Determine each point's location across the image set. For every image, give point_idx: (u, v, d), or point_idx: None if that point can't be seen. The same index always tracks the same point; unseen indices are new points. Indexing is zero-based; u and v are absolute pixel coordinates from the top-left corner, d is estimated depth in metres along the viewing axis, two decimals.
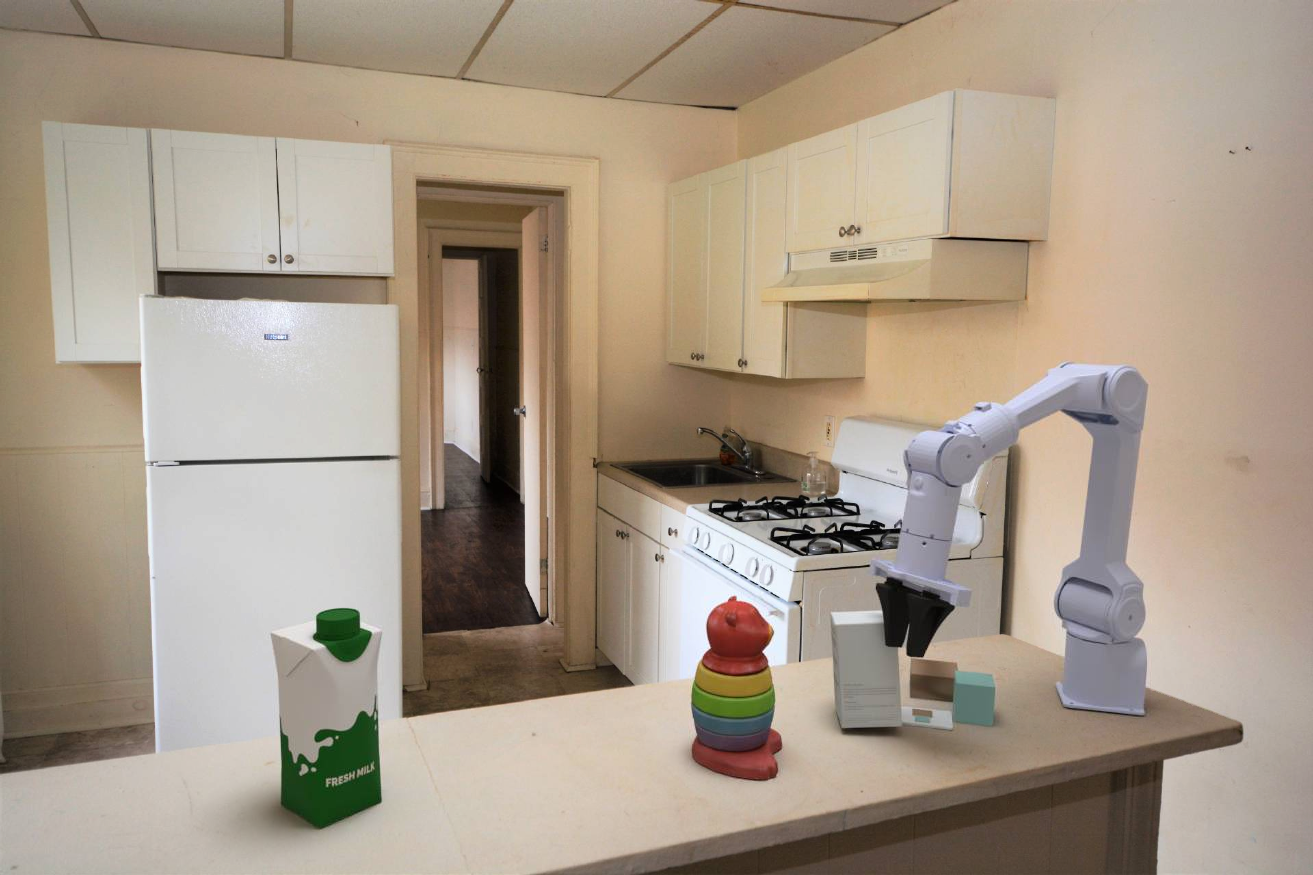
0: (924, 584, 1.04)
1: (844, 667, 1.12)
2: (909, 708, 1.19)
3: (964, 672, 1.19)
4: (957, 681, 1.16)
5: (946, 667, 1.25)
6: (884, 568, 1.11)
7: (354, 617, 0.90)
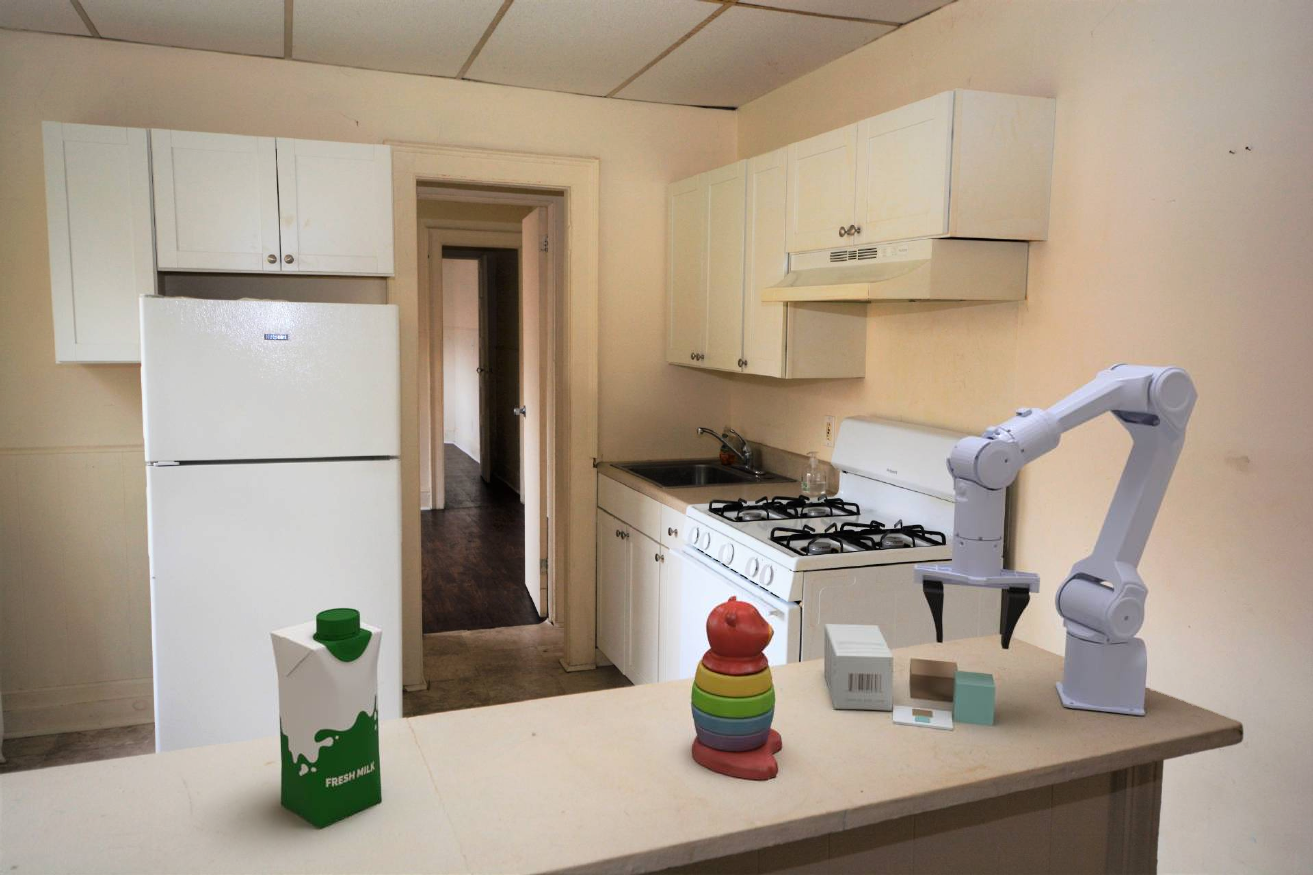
0: (1005, 582, 1.13)
1: (835, 635, 1.25)
2: (909, 708, 1.19)
3: (964, 672, 1.19)
4: (957, 681, 1.16)
5: (946, 667, 1.26)
6: (944, 576, 1.15)
7: (354, 617, 0.90)
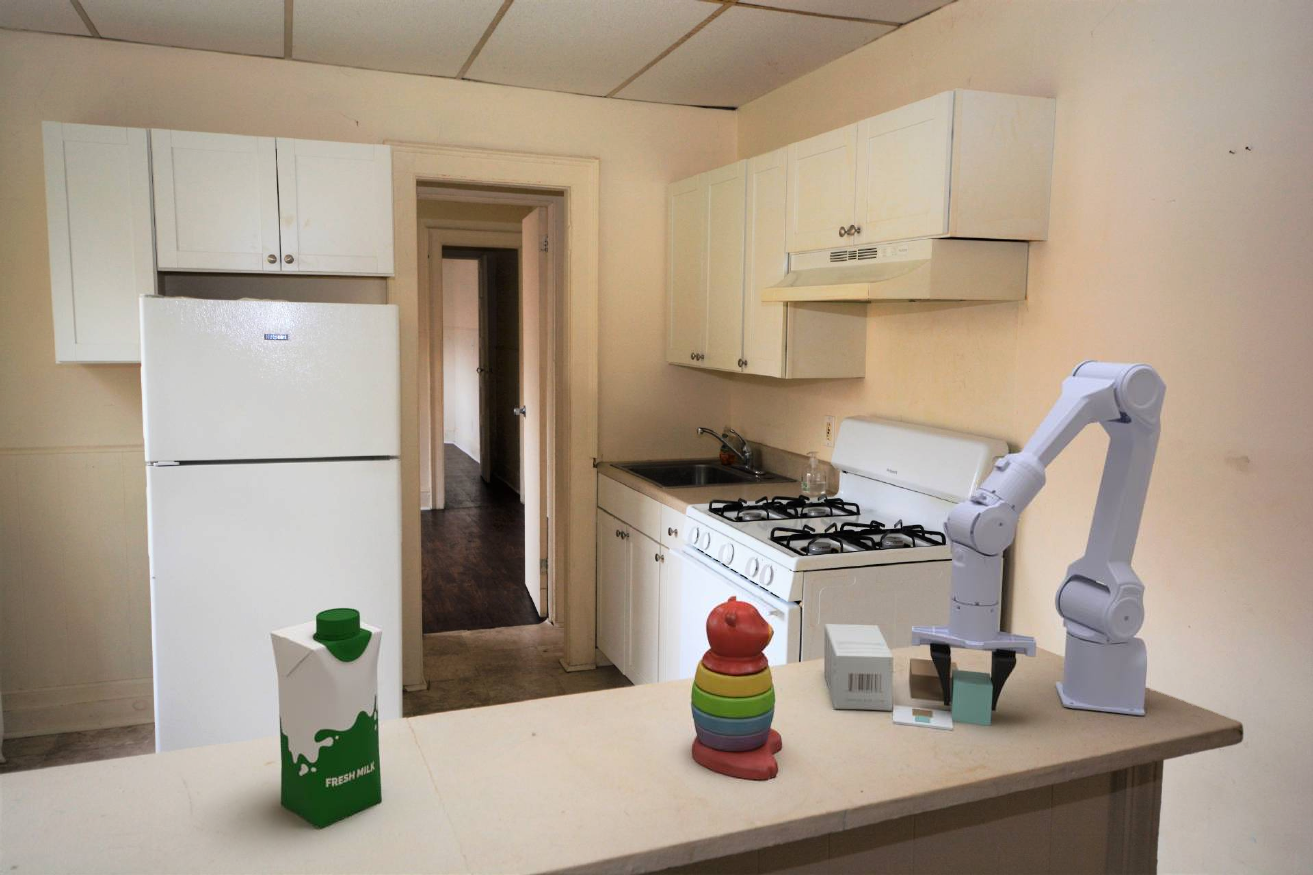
0: (1001, 646, 1.14)
1: (835, 635, 1.25)
2: (909, 708, 1.19)
3: (962, 671, 1.19)
4: (954, 680, 1.16)
5: None
6: (941, 639, 1.16)
7: (354, 617, 0.90)
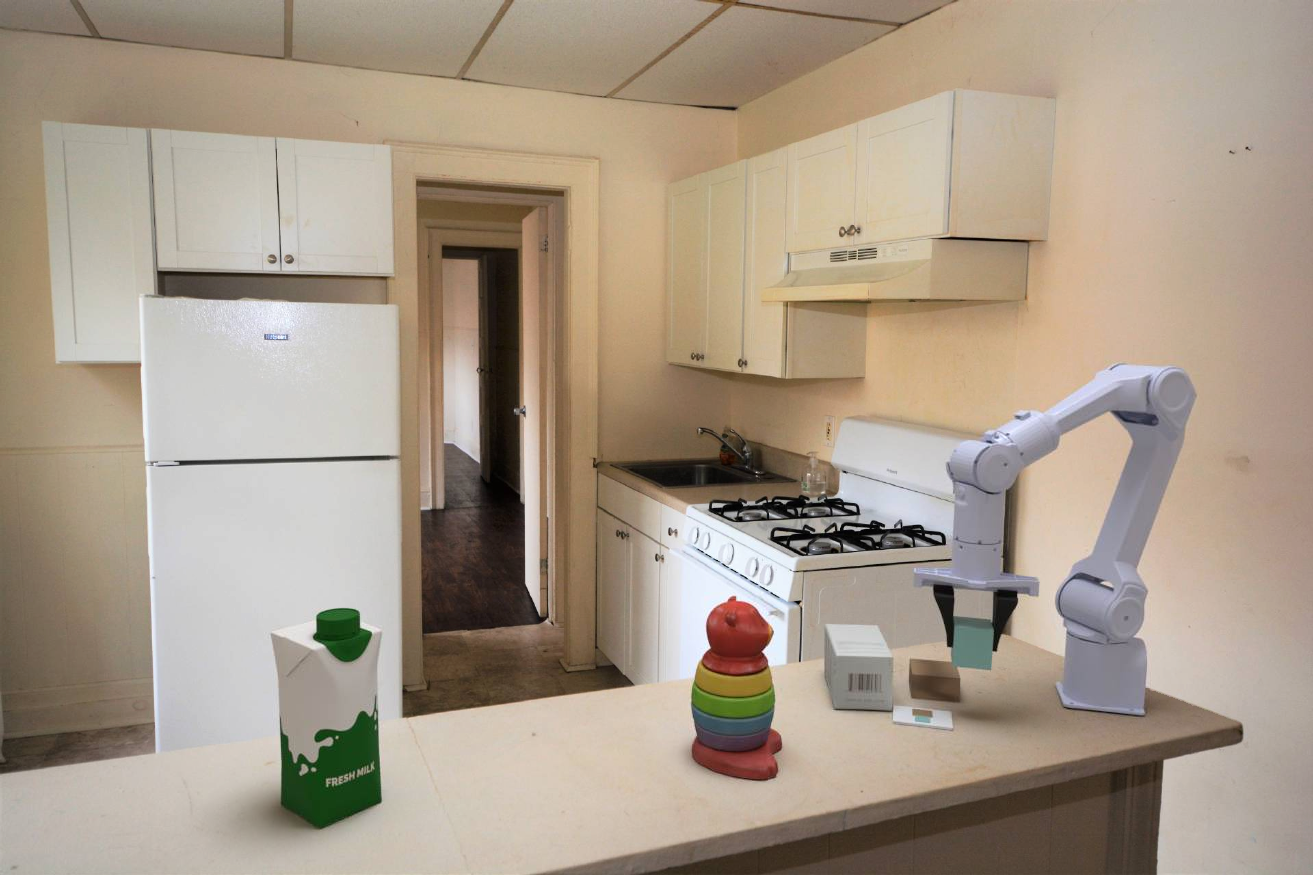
0: (1004, 586, 1.13)
1: (835, 635, 1.25)
2: (909, 708, 1.19)
3: (962, 617, 1.18)
4: (955, 625, 1.15)
5: (945, 667, 1.26)
6: (944, 580, 1.15)
7: (354, 617, 0.90)
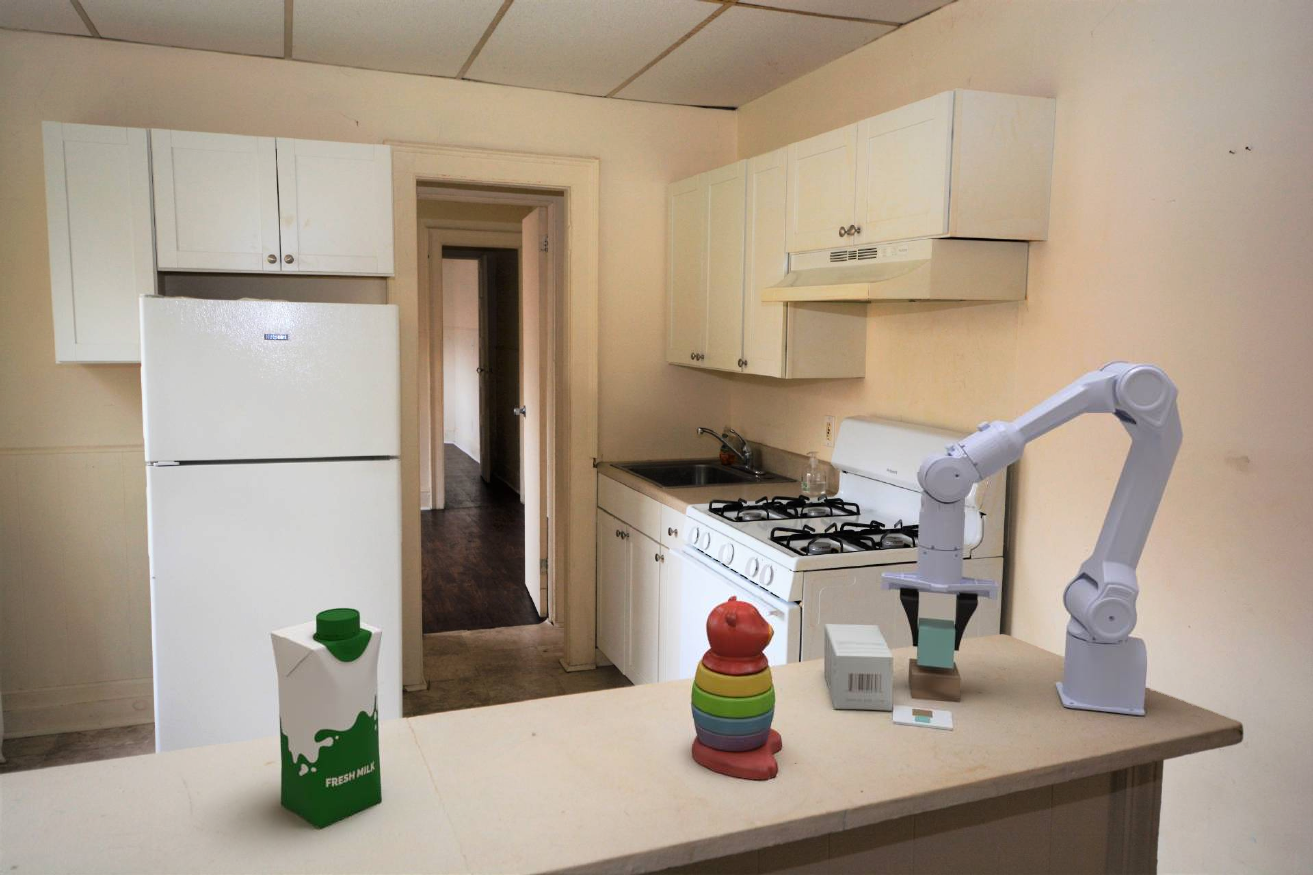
0: (965, 589, 1.21)
1: (835, 635, 1.25)
2: (909, 708, 1.19)
3: (927, 619, 1.26)
4: (920, 626, 1.23)
5: None
6: (909, 583, 1.23)
7: (354, 617, 0.90)
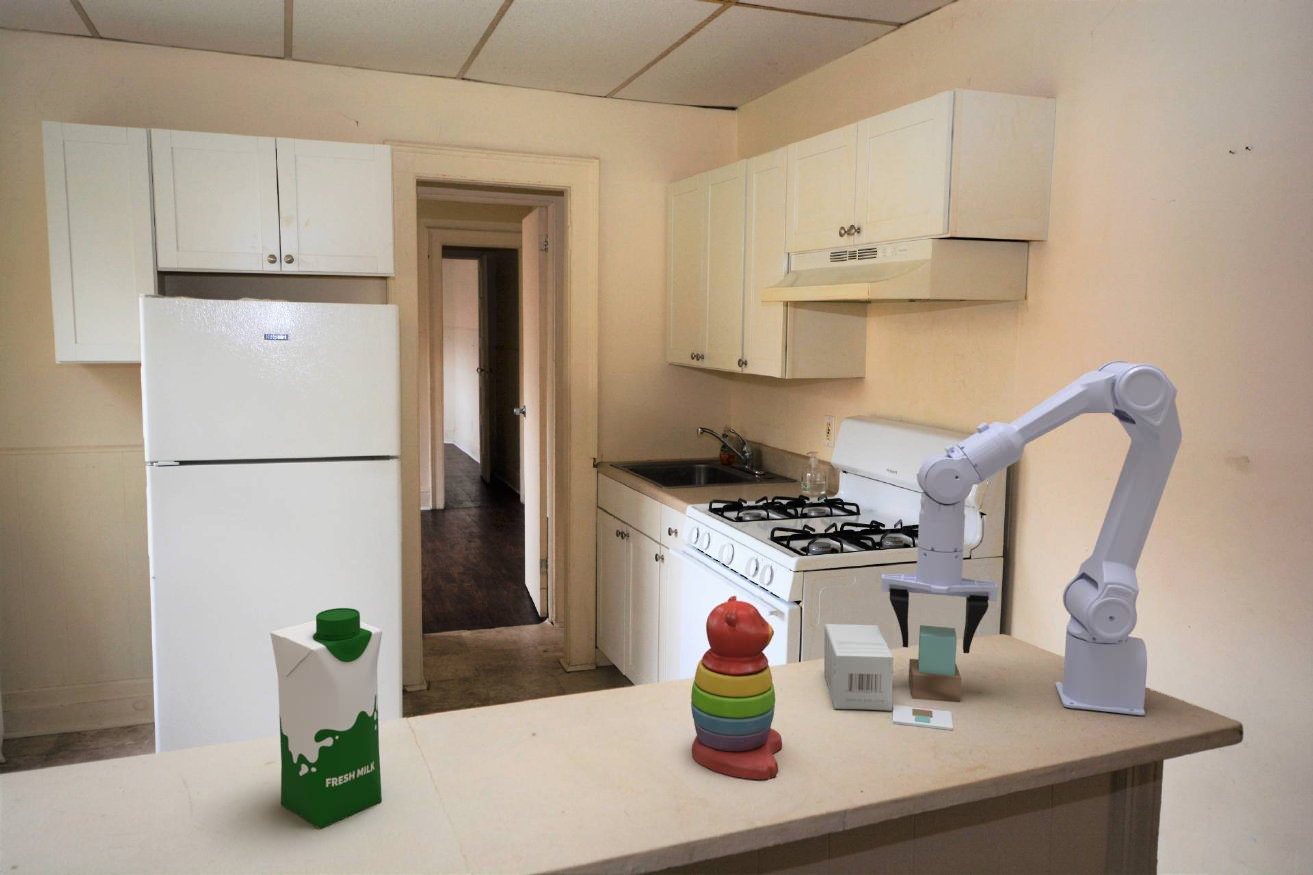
0: (965, 591, 1.21)
1: (835, 635, 1.25)
2: (909, 708, 1.19)
3: (928, 626, 1.27)
4: (921, 634, 1.24)
5: None
6: (909, 585, 1.23)
7: (354, 617, 0.90)
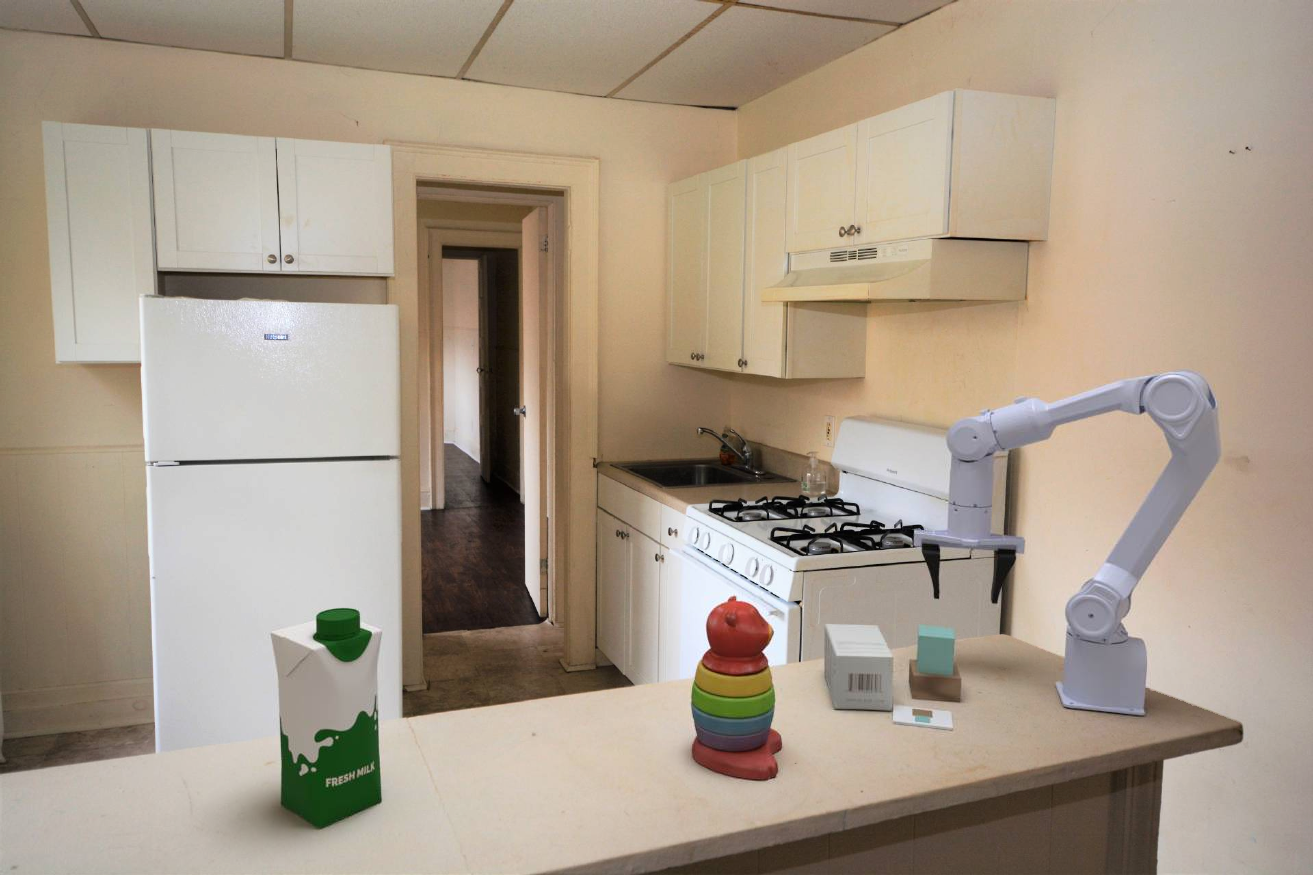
0: (994, 544, 1.28)
1: (835, 635, 1.25)
2: (909, 708, 1.19)
3: (927, 626, 1.27)
4: (919, 634, 1.24)
5: None
6: (941, 539, 1.30)
7: (354, 617, 0.90)
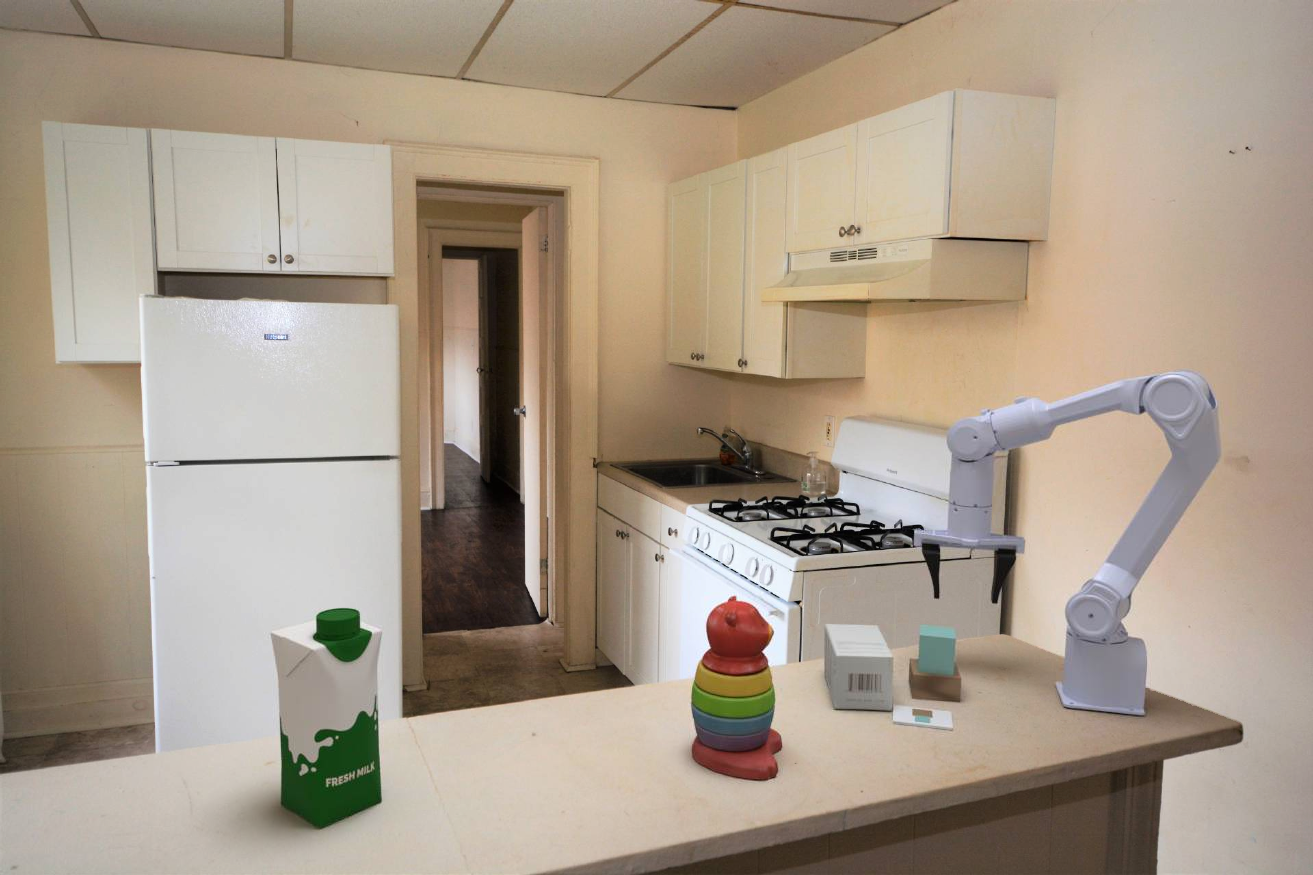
0: (994, 544, 1.28)
1: (835, 635, 1.25)
2: (909, 708, 1.19)
3: (929, 626, 1.27)
4: (920, 633, 1.24)
5: None
6: (941, 539, 1.30)
7: (354, 617, 0.90)
